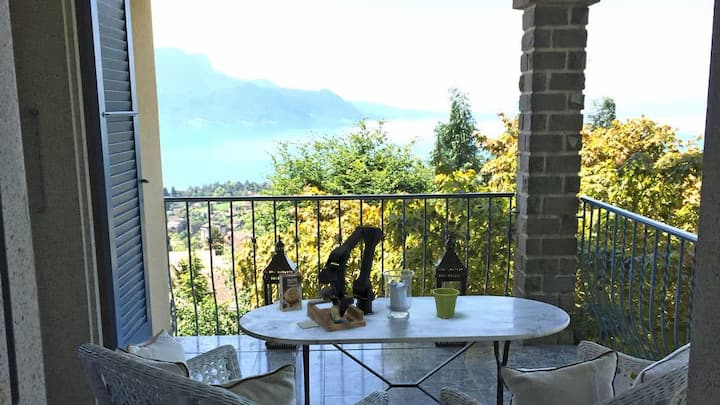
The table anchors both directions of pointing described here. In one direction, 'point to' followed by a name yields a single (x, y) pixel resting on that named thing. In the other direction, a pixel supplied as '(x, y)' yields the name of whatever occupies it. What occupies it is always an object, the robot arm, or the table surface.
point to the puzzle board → (324, 318)
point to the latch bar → (319, 301)
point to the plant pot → (445, 301)
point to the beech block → (337, 313)
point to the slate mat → (308, 324)
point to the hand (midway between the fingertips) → (339, 315)
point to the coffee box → (290, 292)
